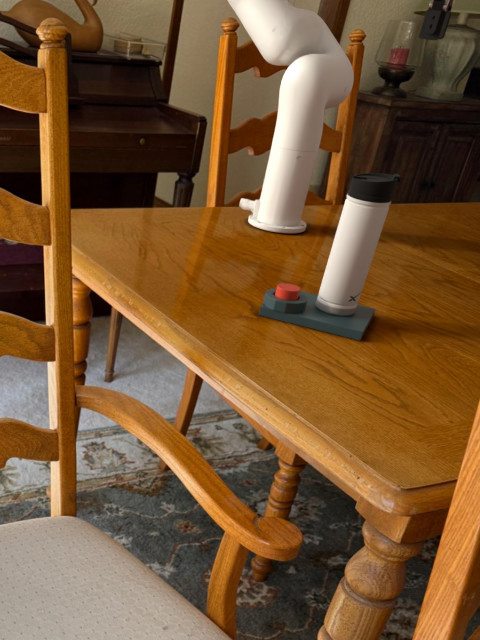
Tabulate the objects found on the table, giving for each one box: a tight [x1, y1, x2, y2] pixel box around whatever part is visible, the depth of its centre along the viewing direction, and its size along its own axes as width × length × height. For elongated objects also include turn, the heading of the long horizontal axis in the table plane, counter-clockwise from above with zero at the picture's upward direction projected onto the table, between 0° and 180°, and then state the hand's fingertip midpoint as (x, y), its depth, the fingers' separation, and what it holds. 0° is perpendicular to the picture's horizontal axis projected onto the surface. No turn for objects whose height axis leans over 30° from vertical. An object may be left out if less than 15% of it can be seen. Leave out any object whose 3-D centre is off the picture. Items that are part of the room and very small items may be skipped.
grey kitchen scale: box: [258, 287, 376, 341], centre depth 115 cm, size 16×12×3 cm
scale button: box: [275, 282, 301, 301], centre depth 114 cm, size 4×4×2 cm
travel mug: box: [316, 172, 402, 316], centre depth 109 cm, size 6×7×20 cm
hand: (431, 38), depth 127 cm, fingers open, 9 cm apart
